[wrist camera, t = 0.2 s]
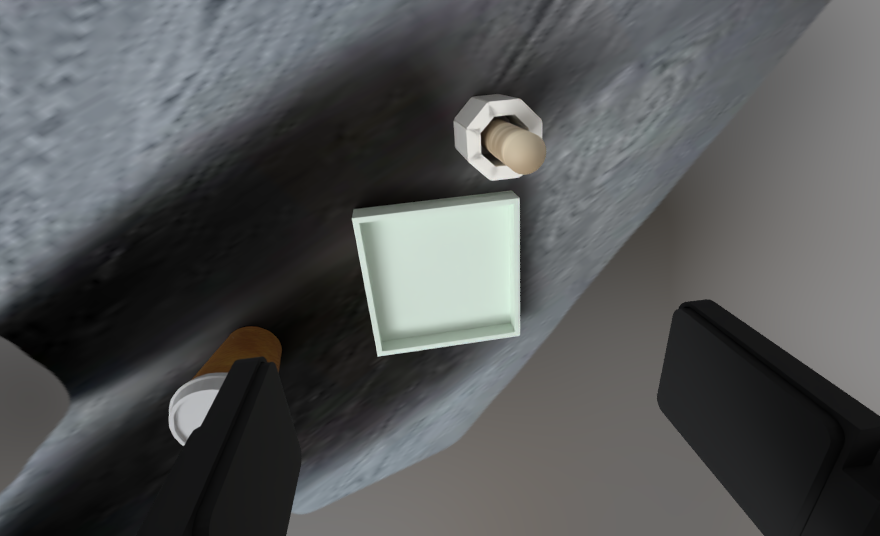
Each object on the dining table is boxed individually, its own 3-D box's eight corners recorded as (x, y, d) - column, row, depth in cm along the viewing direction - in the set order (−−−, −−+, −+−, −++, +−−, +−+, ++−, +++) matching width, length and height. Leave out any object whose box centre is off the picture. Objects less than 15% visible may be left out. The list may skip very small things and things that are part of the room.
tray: (353, 209, 44) (352, 218, 41) (511, 190, 45) (519, 198, 43) (378, 341, 52) (377, 356, 49) (512, 322, 53) (519, 335, 50)
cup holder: (452, 98, 41) (464, 104, 34) (518, 91, 41) (542, 96, 35) (456, 166, 44) (469, 183, 37) (518, 159, 44) (541, 175, 38)
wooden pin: (473, 117, 41) (506, 135, 30) (503, 114, 41) (546, 130, 30) (474, 148, 42) (506, 176, 31) (504, 145, 42) (545, 172, 31)
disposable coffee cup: (193, 347, 49) (139, 426, 38) (249, 299, 47) (209, 367, 36) (258, 392, 53) (226, 475, 42) (312, 349, 51) (294, 424, 40)
